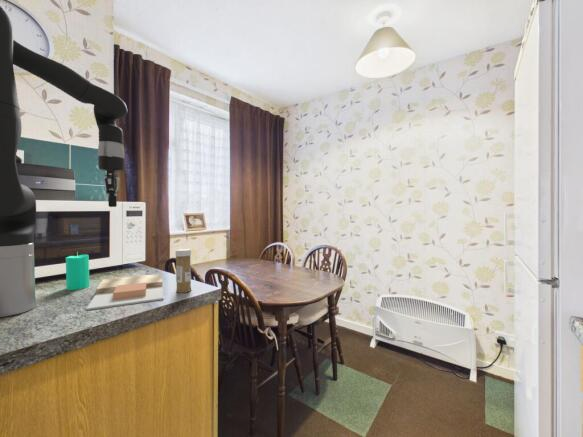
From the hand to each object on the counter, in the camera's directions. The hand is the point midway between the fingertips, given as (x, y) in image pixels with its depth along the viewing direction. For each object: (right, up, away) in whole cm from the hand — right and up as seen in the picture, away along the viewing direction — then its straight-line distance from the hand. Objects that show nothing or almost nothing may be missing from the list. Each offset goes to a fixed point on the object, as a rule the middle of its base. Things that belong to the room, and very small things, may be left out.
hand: (112, 206), depth 91 cm
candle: (-9, -27, -4) cm, 29 cm away
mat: (+14, -28, -14) cm, 34 cm away
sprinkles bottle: (+28, -28, -7) cm, 40 cm away
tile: (+14, -27, -12) cm, 32 cm away
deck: (+8, -27, -2) cm, 29 cm away
